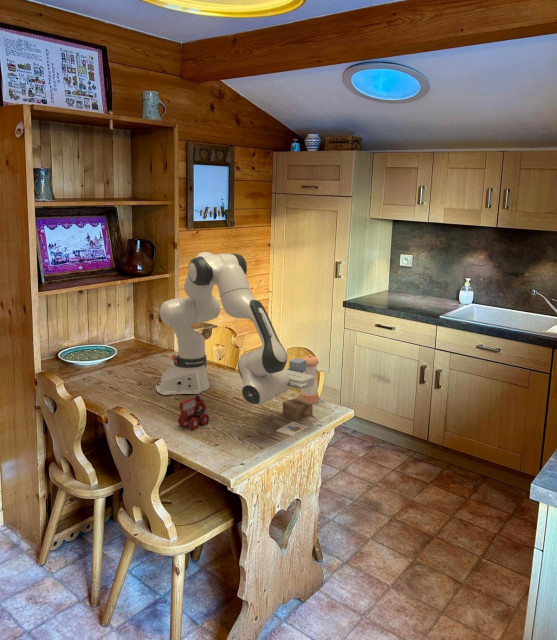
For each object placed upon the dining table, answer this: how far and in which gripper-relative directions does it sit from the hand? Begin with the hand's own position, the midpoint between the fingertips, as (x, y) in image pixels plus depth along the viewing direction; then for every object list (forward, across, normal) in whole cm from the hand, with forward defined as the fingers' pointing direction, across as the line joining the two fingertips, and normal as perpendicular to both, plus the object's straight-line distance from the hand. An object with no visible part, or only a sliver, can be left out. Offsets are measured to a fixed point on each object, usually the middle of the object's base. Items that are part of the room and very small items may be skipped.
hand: (298, 371), depth 227 cm
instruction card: (-13, -6, +17) cm, 22 cm away
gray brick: (-1, 0, +6) cm, 6 cm away
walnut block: (0, 0, +17) cm, 17 cm away
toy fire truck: (-30, +25, +17) cm, 43 cm away
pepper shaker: (+14, +4, +17) cm, 22 cm away
